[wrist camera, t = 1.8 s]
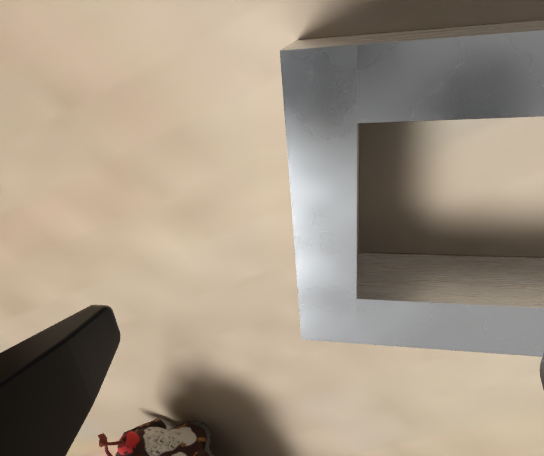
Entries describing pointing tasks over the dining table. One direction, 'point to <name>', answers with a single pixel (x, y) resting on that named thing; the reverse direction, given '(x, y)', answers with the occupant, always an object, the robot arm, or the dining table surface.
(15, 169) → the dining table surface
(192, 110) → the dining table surface
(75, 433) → the robot arm
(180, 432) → the sundae
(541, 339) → the steel link
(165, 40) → the dining table surface
